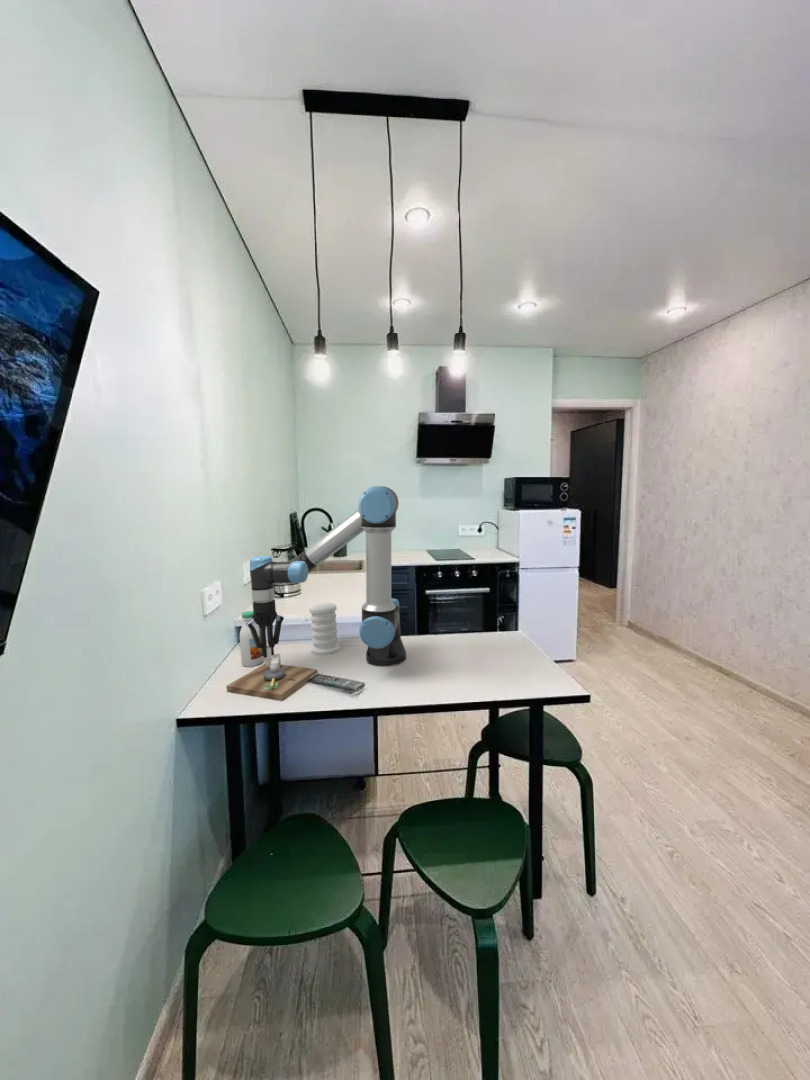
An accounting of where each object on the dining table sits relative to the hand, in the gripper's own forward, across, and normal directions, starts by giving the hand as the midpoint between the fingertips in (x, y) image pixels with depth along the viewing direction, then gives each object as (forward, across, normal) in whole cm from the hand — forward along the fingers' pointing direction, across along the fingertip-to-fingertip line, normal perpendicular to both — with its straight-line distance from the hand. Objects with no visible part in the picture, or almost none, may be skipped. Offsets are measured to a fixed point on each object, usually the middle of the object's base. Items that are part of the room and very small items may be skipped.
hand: (268, 664), depth 155 cm
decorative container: (+4, -26, -8) cm, 28 cm away
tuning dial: (+2, +1, +8) cm, 9 cm away
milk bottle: (+4, +1, -15) cm, 15 cm away
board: (+4, +2, +8) cm, 9 cm away
